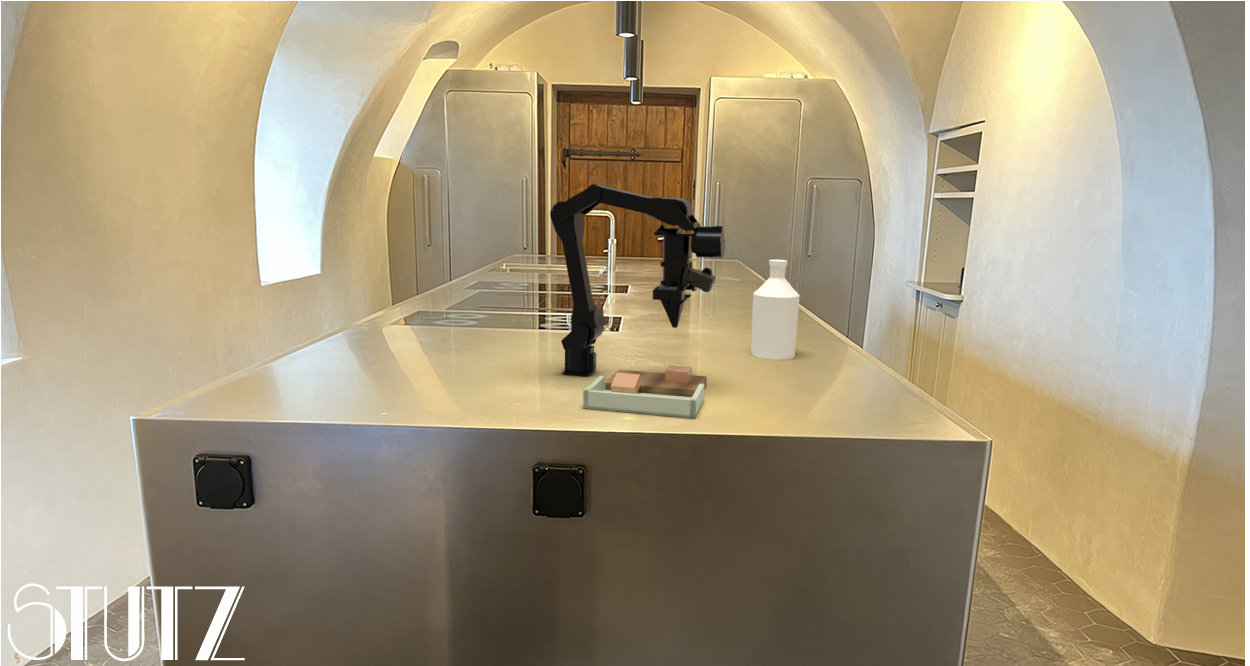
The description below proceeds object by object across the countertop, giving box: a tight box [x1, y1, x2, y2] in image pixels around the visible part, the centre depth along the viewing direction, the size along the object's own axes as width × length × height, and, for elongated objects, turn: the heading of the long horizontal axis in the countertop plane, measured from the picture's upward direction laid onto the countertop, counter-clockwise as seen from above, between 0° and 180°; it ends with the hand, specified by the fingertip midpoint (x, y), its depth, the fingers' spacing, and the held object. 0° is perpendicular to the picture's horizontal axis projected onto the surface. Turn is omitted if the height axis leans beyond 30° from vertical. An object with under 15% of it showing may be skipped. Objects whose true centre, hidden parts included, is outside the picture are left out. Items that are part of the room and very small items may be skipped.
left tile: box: [611, 372, 641, 394], centre depth 149 cm, size 5×5×2 cm
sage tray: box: [582, 375, 705, 419], centre depth 144 cm, size 22×12×4 cm, turn 76°
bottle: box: [750, 259, 801, 361], centre depth 189 cm, size 12×12×25 cm
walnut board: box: [605, 369, 708, 397], centre depth 156 cm, size 20×12×2 cm, turn 76°
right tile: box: [664, 364, 693, 384], centre depth 156 cm, size 5×5×2 cm
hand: (675, 327), depth 160 cm, fingers closed
